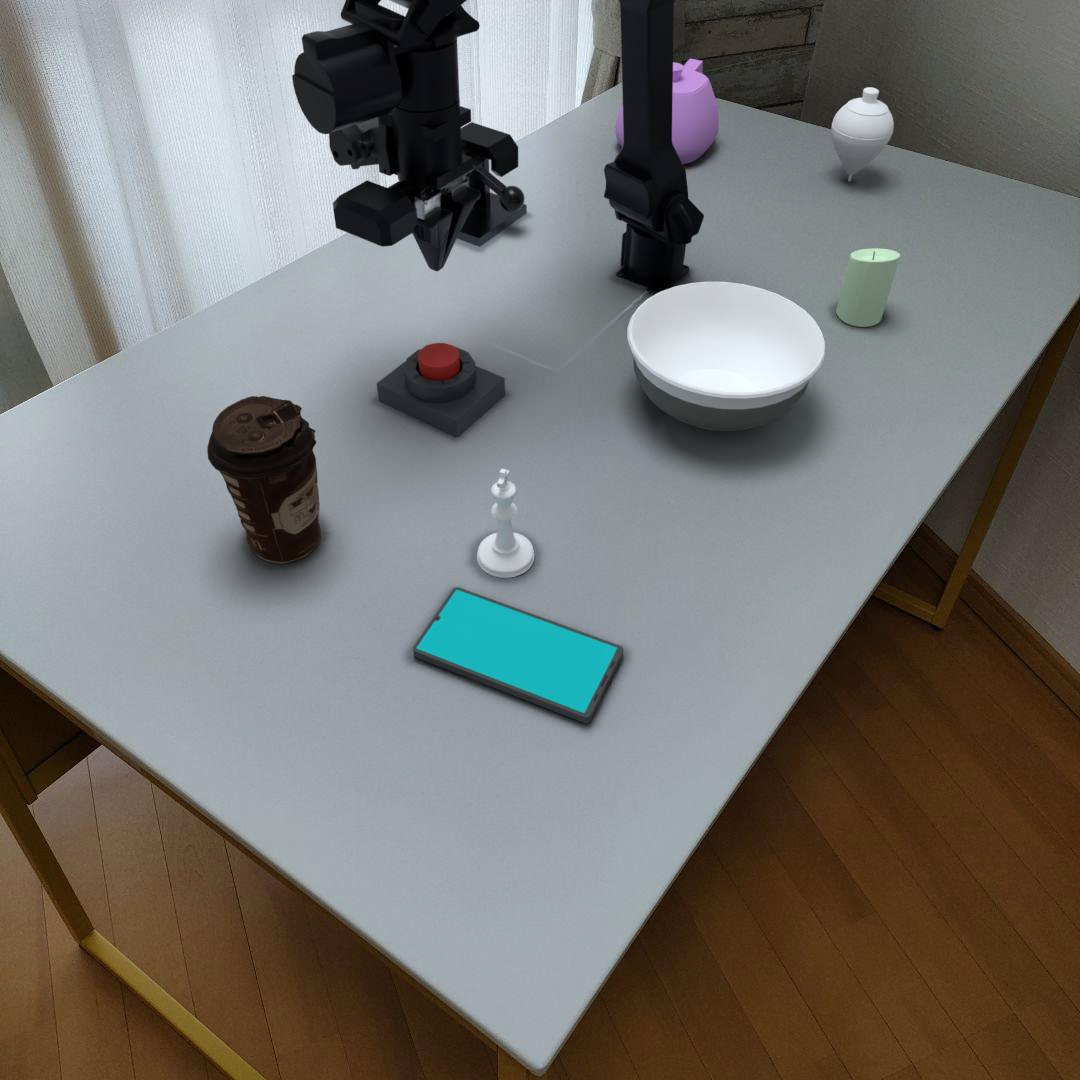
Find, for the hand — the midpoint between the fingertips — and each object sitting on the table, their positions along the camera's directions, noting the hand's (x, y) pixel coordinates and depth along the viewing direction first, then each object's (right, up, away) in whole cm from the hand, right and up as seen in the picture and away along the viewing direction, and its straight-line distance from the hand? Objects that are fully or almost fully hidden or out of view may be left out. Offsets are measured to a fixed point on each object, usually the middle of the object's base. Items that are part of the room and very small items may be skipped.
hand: (436, 268), depth 92 cm
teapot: (+27, +29, +46) cm, 61 cm away
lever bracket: (0, +15, +33) cm, 36 cm away
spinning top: (+51, +22, +40) cm, 69 cm away
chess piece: (+7, -27, -7) cm, 28 cm away
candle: (+45, 0, +19) cm, 49 cm away
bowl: (+27, -12, +8) cm, 31 cm away
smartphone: (+8, -34, -14) cm, 38 cm away
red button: (0, -8, +6) cm, 10 cm away
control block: (0, -11, +8) cm, 14 cm away
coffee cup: (-12, -25, -5) cm, 28 cm away
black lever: (+3, +17, +28) cm, 33 cm away
